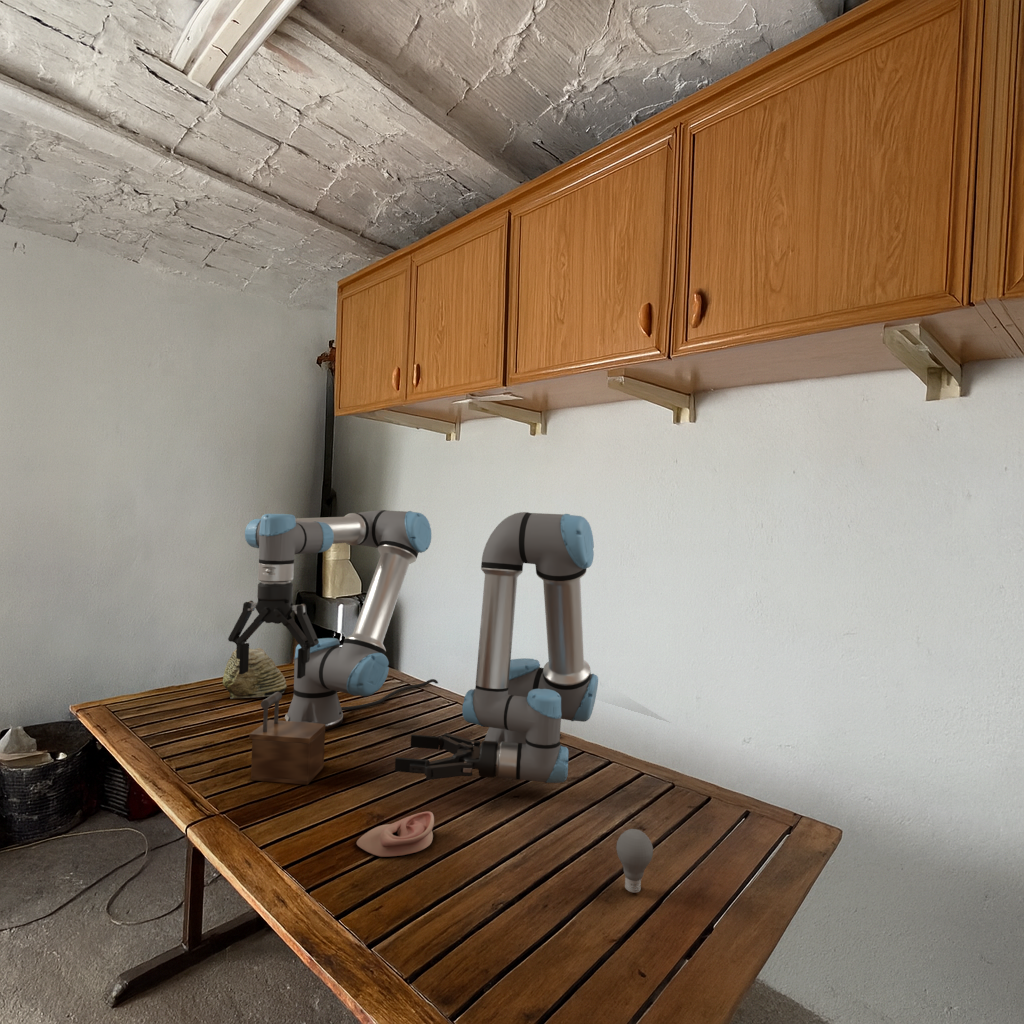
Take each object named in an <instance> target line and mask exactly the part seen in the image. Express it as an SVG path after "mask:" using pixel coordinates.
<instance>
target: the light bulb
mask: <svg viewBox="0 0 1024 1024" xmlns="http://www.w3.org/2000/svg"><path fill="white" fill-rule="evenodd" d="M615 849H616V854H617V857H618V859H619V861H620V863H621V865H622V867H623V873H624V874H623V875H624V876H625V878H624V888H625V890H627V891H628V892H630V893H634V894H635V893H639V892H640V891H641V889H642V887H641V886H642V879H643V877H644V875H645V871H646V868H647V867H648V866H649V864H650V863H651V861H652V859H653V855H654V847H653V843H652V841H651V838H649V836H648V835H647V834H646V833H645V832H643V831H642V830H641V829H636V828H629V829H627V830H625V831H623V832H622V833H621V834H620V835H619V837H618V839H617V841H616V847H615Z"/></svg>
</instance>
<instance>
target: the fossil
mask: <svg viewBox="0 0 1024 1024" xmlns="http://www.w3.org/2000/svg"><path fill="white" fill-rule="evenodd" d="M239 662H240V659H238V658H237V657H236V649H235V650H233V651H232V653H231V656H230V657H229V659H228V660H227V663H226V666H225V668H224V671H223V675H222V676H223V677H222V685H223V687H224V688H225V690H226V691H228V693H229V698H230V699H250V698H264V697H269V696H271V695H272V694H274V693H275V692H280V693H281V694H284V693H285V691H286V689H287V687H288V686H287V680H286V678H285V676H284V674H283V673H282V672H281V669H279V668H278V667H277V665H276V663H275V662H274V660H273V659H272V658H271V657H270V656H269V655H268V654H267V653H266V652H265V650H264V649H263V648H260V647H258V648H251V647H249V663H248V672H246V673H244V674H239Z"/></svg>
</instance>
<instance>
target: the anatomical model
mask: <svg viewBox="0 0 1024 1024" xmlns="http://www.w3.org/2000/svg"><path fill="white" fill-rule="evenodd" d="M434 826H435V815H434V814H433V812H431V811H422V812H418V813H415V814H411V815H409V816H406V817H404V818H402V819H399V820H397V821H395V822H392V823H389V824H388V823H387V824H382V825H378V826H376V827H374V828H372V829H370V830H368V831H367V832H365V833H364V834H363V835H361V836H360V837H359V838H358V839H357V841H356V845H357V847H359V848H360V849H362V850H363V851H365V852H366V853H369V854H371V855H373V856H375V857H376V856H377V857H380V858H385V857H386V858H387V857H397V856H405V855H410V854H414V853H418V852H420V851H423V850H425V849H427V848H428V847H430V845H431V844H432V842H433V838H434V834H433V829H434Z"/></svg>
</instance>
